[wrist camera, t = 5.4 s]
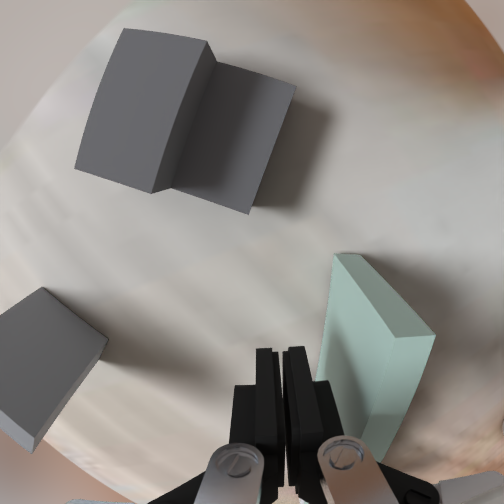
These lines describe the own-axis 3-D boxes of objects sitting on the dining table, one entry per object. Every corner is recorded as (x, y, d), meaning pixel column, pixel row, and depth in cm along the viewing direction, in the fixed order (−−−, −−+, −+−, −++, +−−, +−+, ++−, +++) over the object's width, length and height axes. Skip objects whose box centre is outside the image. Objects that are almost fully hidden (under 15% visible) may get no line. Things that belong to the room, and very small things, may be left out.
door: (314, 463, 17) (325, 546, 11) (295, 464, 17) (300, 548, 11) (361, 254, 13) (438, 334, 6) (331, 253, 13) (391, 337, 6)
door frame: (371, 465, 18) (393, 546, 10) (352, 477, 18) (369, 557, 11) (42, 286, 15) (-52, 354, 7) (35, 310, 15) (-48, 379, 7)
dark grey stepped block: (128, 164, 13) (74, 168, 9) (163, 63, 12) (123, 28, 7) (251, 205, 13) (245, 226, 9) (290, 99, 12) (303, 69, 8)
